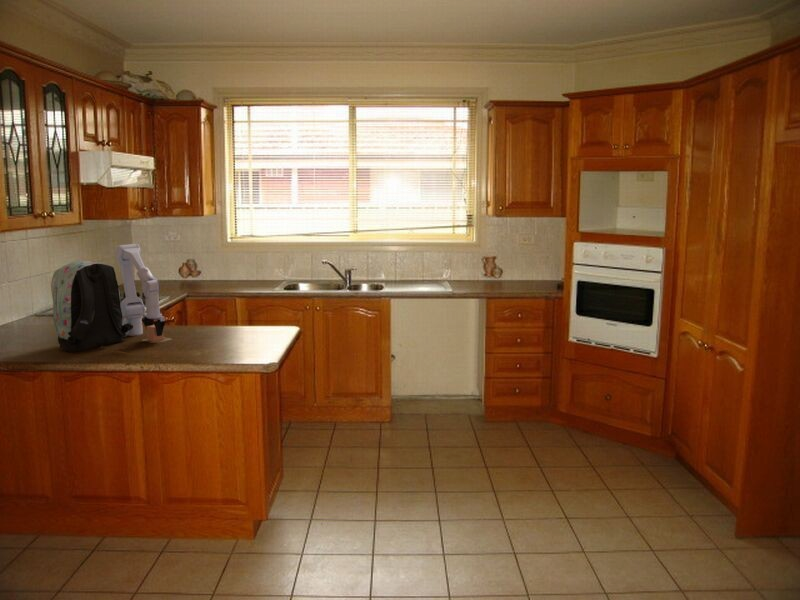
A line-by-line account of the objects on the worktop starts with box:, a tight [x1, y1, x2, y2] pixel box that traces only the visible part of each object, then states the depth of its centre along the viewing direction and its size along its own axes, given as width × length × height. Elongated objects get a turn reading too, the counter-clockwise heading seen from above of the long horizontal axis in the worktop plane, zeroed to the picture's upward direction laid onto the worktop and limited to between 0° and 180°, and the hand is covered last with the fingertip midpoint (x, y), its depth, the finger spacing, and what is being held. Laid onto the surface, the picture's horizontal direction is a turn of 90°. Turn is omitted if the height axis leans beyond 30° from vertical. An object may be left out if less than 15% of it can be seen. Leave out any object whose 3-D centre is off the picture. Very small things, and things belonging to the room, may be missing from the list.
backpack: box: [50, 259, 133, 353], centre depth 297 cm, size 32×24×39 cm
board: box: [141, 336, 173, 344], centre depth 307 cm, size 10×10×1 cm
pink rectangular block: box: [145, 324, 165, 342], centre depth 305 cm, size 5×5×7 cm
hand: (154, 334), depth 305 cm, fingers open, 7 cm apart
